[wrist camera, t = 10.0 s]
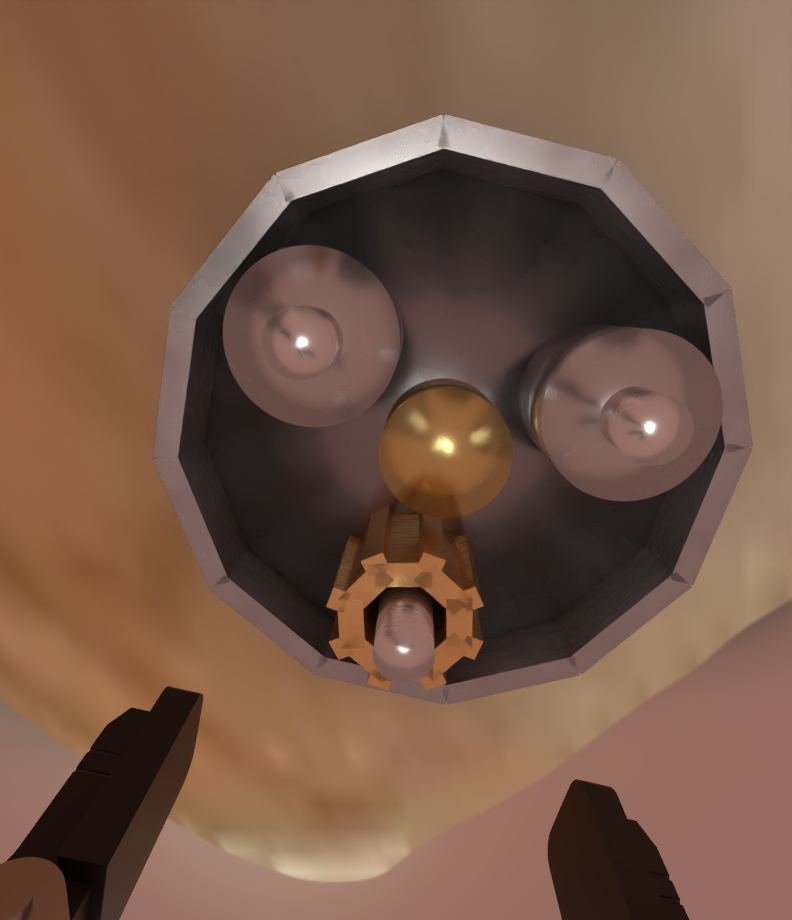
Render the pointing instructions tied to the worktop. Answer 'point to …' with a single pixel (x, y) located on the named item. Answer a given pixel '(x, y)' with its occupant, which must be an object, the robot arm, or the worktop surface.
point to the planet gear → (407, 565)
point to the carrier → (455, 399)
